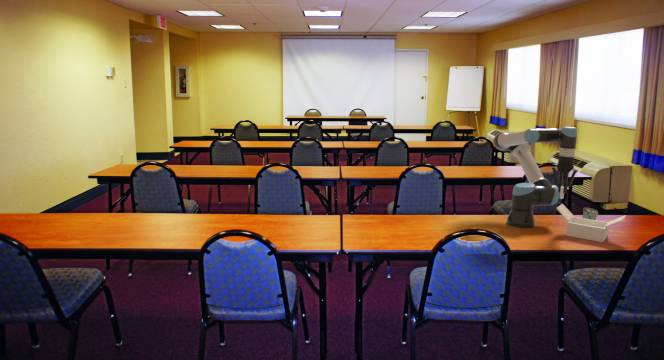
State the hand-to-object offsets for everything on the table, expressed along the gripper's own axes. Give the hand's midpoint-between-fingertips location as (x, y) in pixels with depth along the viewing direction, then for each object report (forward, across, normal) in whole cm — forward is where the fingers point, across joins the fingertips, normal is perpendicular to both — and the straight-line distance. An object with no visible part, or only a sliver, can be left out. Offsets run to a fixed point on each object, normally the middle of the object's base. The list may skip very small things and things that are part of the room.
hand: (561, 198), depth 279 cm
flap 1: (+7, +3, 0) cm, 8 cm away
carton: (+18, +15, 0) cm, 24 cm away
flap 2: (+7, +27, 0) cm, 28 cm away
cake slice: (+19, +13, +20) cm, 30 cm away
